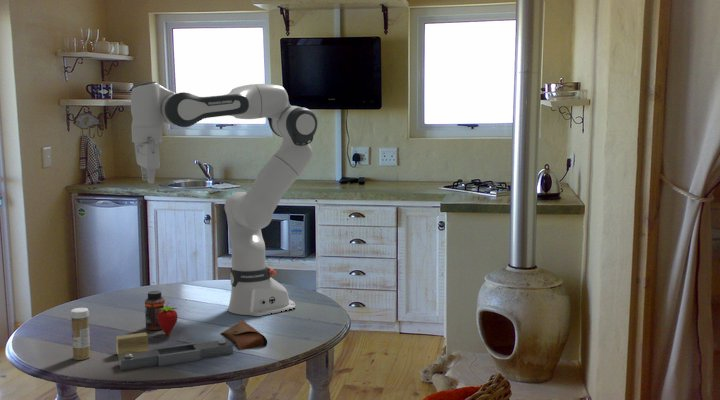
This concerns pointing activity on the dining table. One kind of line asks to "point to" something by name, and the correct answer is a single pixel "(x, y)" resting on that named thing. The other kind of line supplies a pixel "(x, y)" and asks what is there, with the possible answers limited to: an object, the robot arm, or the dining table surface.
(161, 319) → the strawberry
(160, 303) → the supplement bottle
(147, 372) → the dining table surface
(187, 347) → the grey slotted link bar
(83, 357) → the sprinkles bottle
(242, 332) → the sunglasses case
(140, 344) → the khaki rectangular block
